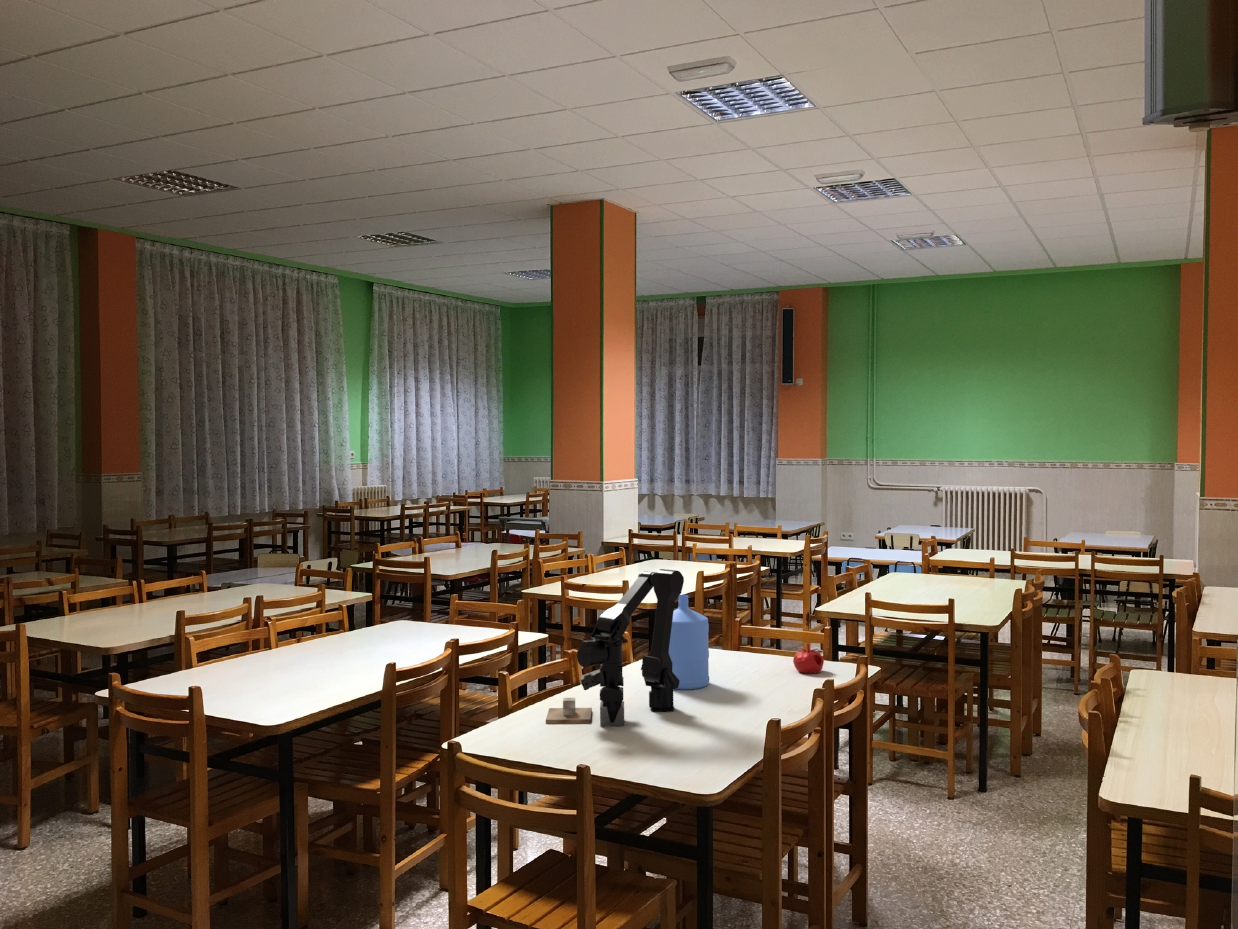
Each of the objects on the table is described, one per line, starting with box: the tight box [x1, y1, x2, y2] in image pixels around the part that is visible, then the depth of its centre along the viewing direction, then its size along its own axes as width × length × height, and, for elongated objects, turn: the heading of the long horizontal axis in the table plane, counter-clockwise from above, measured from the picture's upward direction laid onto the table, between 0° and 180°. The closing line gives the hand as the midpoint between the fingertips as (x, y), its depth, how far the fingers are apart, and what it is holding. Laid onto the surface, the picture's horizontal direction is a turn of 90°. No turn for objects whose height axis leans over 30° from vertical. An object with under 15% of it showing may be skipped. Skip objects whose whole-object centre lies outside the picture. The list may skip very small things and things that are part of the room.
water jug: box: [669, 594, 710, 691], centre depth 305 cm, size 16×16×28 cm
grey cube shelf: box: [599, 700, 625, 727], centre depth 263 cm, size 6×6×5 cm
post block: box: [545, 697, 593, 724], centre depth 269 cm, size 12×12×5 cm
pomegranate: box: [792, 643, 825, 674], centre depth 321 cm, size 10×10×9 cm
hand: (612, 719), depth 263 cm, fingers closed on grey cube shelf, 6 cm apart
